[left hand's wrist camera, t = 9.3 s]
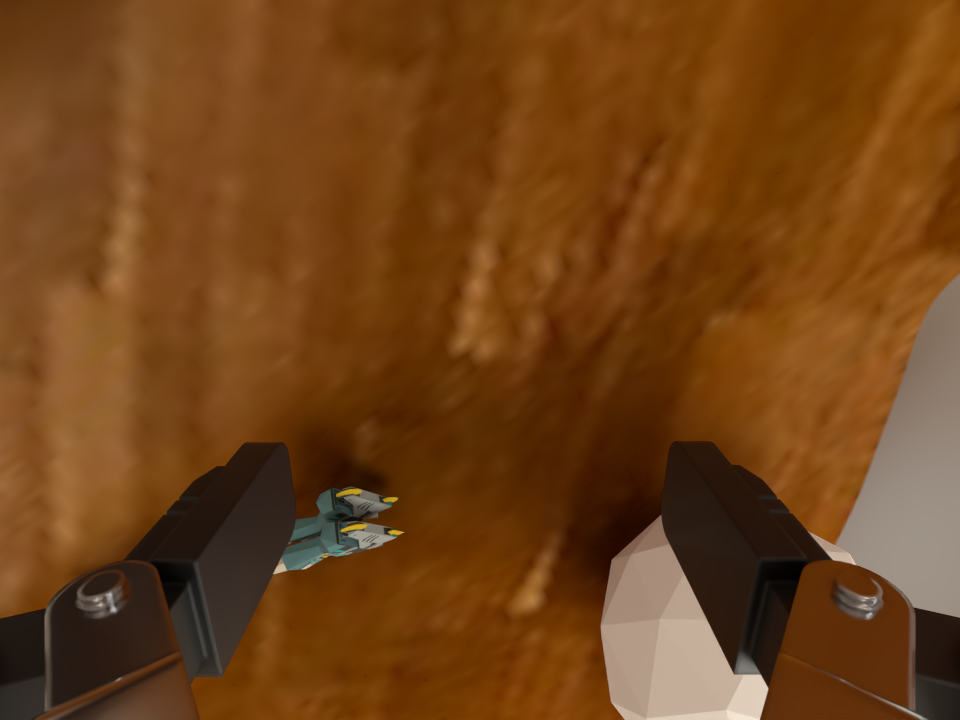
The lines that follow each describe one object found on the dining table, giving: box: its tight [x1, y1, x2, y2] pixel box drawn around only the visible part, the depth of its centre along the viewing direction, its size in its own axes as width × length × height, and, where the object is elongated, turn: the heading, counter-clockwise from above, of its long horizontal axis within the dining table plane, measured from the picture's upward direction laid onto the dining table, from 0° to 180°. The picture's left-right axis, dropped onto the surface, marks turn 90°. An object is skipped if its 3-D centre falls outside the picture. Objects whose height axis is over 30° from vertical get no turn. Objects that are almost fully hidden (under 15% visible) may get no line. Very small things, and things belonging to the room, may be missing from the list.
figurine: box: [273, 486, 404, 574], centre depth 44 cm, size 7×8×30 cm
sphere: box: [601, 515, 856, 720], centre depth 39 cm, size 19×20×20 cm
